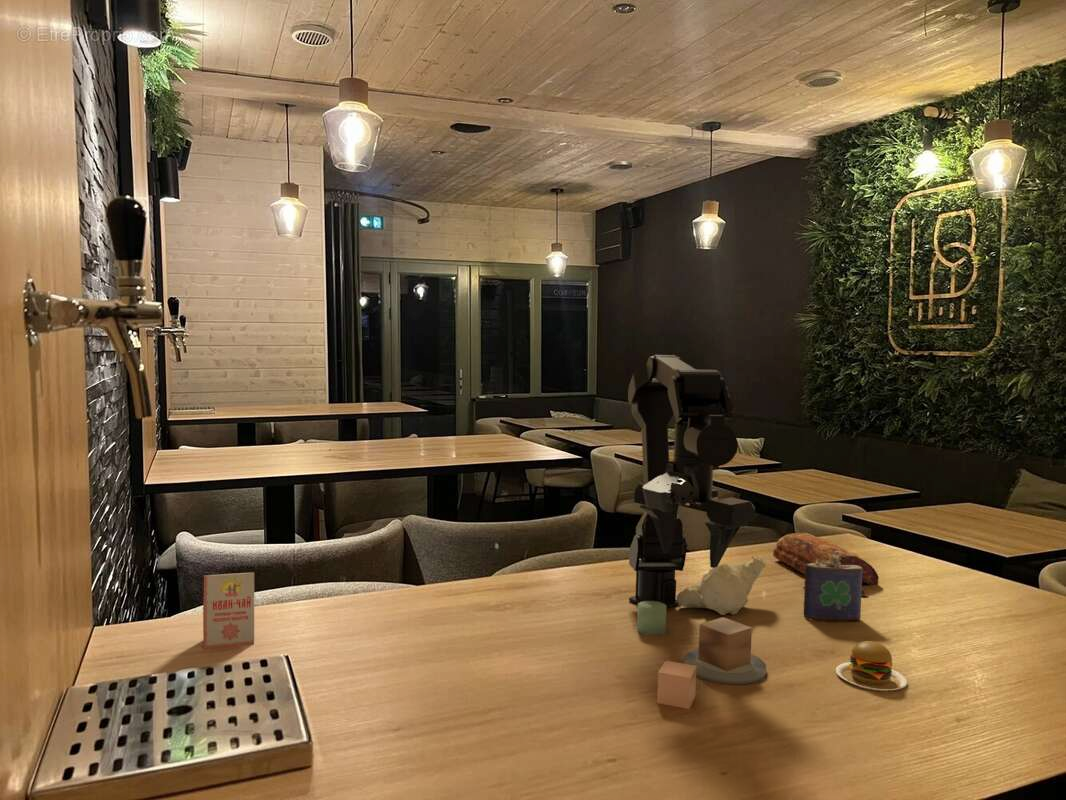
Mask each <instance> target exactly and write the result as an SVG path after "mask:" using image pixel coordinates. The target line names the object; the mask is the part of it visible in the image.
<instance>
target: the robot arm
mask: <svg viewBox="0 0 1066 800" xmlns="http://www.w3.org/2000/svg"><path fill="white" fill-rule="evenodd" d="M627 399H628V401H627V402H628V403H629V404H630V408H631V414H632V415H631V416H632V417H633V419H634V420H635V422H636V423H637V424H638V426H639V428H640V429H641V443H642V444H641V445H642V446H641V447H642V471H643V472H642V473H643V483H639V484H638V485H637V486H636V488H635V489H634V500H633V503H635V504H640V505H639V508H640V509H641V510H643V511H644V512H643V514H642V516H641V517H640V519H639V521H638V522H637V525H636V527H635V535H633V538H632V541H631V544H630V548H629V550H628V565H629V566H630V567H631V568H632V570H633V571H634V572H635V595H633V596H630V597H628V600H629V601H630V602H632V603H634V604H637V605H638V603H640V602H642V601H657V602H661V603H663V604H665V605H666V608H670V607H673V606H677V605H680V604H679V603H678V601H677V598H676V597H677V595H676V594H677V579H676V571H679V572H683V571H684V567H685V563H686V557H687V550H688V547H689V545H688V543H687V541H686V536H685V535H683V534H684V533H683V531H684V530H683V525H684V524H683V521H682V520H681V518H679V517H678V512H679V506H681V507H685V508H688V509H692V510H696V511H700V512H704V513H706V516H707V518H708V520H709V521H708V522H705V525H706V528H707V530H708V532H710V536H709V537H710V539H709V565H710V568H711V569H713V568H715V567H717V566H718V565H720V562H721V560H722V559H723V558H724V554H725V553H726V551H727V549H728V547H730V546H729V545H730V544H731V542H732V540H733V539H734V537H735V536H736V534H737V533H738V531H739V530H740V528H741V527H746V526H748V523H753V522H755V520H756V508H755V506H754V504H753V503H752V501H750V500H745V499H741V498H735V497H726V498H719V499H714V498H718V495H719V491H718V489H713V479H714V478H713V477H714V471H717V470H718V471H719V470H720V466H724V465H726V464H728V463H730V462H731V461H732V460H733V459H734V458H735V456H736V455H737V452H738V447H739V441H738V439H737V435H736V434H735V432H734V431H733V429H732V428H730V427H729V426H727V425H725V420H726V419H728V420H729V419H732V416H733V415H732V411H733V408H734V406H733V403H732V400H731V397H730V393H729V390H728V386H727V385H726V381H725V378H723V377H722V374H721V373H720V371H719V370H717V369H696V368H694V367H693V366H691V365H689V364H687V363H686V362H684V361H683V360H681V357H679V356H676V355H675V354H672V355H671V354H670V355H669V354H653V355H651V356H649V357H648V359H647V362H646V364H645V365H643V366H642V367H640V368H639V369H638V370H636V371H635V372H634V373H633V374H632V376H631V378H630V382H629V384H628V389H627ZM673 417H674V419H675V422H674V442H673V444H674V446H673V460H670V448H669V446H670V445H669V430H668V429H669V424H670V422H671V421H672V419H673Z"/></svg>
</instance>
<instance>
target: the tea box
mask: <svg viewBox="0 0 1066 800" xmlns="http://www.w3.org/2000/svg"><path fill="white" fill-rule="evenodd" d="M202 600H203V601H202V602H203V603H202V604H203V607H202V608H203V609H202V611H203V612H202V618H203V621H202V624H203V625H202V627H203V628H202V632H203V633H202V634H203V637H202V638H203V640H202V641H203V645H202V647H203V650H204V649H205V650H206V649H214V648H224V647H226V648H227V647H236V646H245V645H255V572H253V571H252V572H239V573H223V574H207V575H205V574H204V575H203V599H202Z"/></svg>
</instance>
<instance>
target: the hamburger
mask: <svg viewBox="0 0 1066 800" xmlns="http://www.w3.org/2000/svg"><path fill="white" fill-rule="evenodd" d="M849 660H850V661H849V662H843V663H841V664H839V665H838V666H836V668H835V673H836V675H837V676H839V677H840V679H843V680H845V681H846V682H847V683H849V684H851V685H854V686H856V687H858V686H859V688H862V687H863V689H866V688H867V689H866V690H870V689H872V691H877V690H881V692H889V690H890V691H896V690H900V689H901V690H902V688H905V687H906V686H908V680H907V678H906V677H905V676H904V675H903V674H902V673H901V672H898V671H896V670H894V669H893V668H892V667H893V658H892V653H891V652H890V650H889V649H888V648H887V647H886V646H884V645H883V644H881V643H880V642H877V641H870V640H865V641H860V642H858V643H856V644H855V646H853V648H852V649H851V654H850V656H849ZM846 670H849V671H850V673H851V674H852V675H851V676H853V678H854V679H856V680H857V681H859V682H861V681H862V682H861V683H864V682H865V684H868V683H869V685H875V684H878V685H879V684H881V685H885V684H887V683H888V682H889V681H890V679H891V676H892V677H894V676H895V677H896V680H898V681H899V686H897V687H896V688H891V689H890V688H875V687H869V686H866V685H860V684H858V683H855V682H852V681H850V680H848V679H846V677H844V676H843V672H845V671H846ZM895 677H894V678H895ZM900 683H901V684H900Z"/></svg>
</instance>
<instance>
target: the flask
mask: <svg viewBox="0 0 1066 800" xmlns="http://www.w3.org/2000/svg"><path fill="white" fill-rule="evenodd" d="M832 557H833V558H832V560H831V561H829V562H828V563H826V562H822V563H824V564H822V563H818V561H816V562H815V563H809V564H807V565H806V566H805V570H806V572H805V574H804V582H805V584H804V587H805V590H804V594H803V595H804V596H803V598H804V599H803V600H804V601H803V617H805V618H807V619H806V620H809V619H811V620H810V621H814V620H822V621H821V622H827V621H831V622H832V621H834V622H838V621H848V622H849V621H855V622H860V621H859V620H861V618H862V617H861V615H862V614H861V612H862V609H861V608H862V596H861V594H862V589H863V582H862V572H863V569H862V567H860V566H857V565H840V564H841V563H840V562H839V556H836V555H833V556H832ZM840 560H841V558H840ZM805 618H804V619H805Z"/></svg>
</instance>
